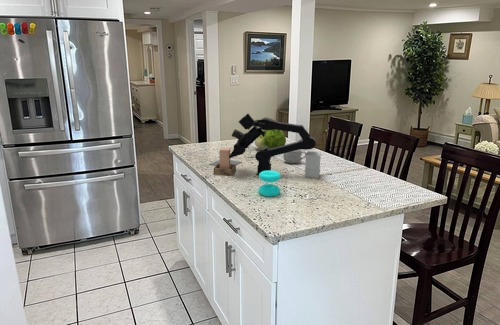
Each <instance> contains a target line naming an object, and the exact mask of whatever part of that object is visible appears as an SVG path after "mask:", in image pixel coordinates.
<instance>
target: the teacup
mask: <svg viewBox="0 0 500 325" xmlns="http://www.w3.org/2000/svg"><path fill="white" fill-rule="evenodd" d="M306 153H307V151H306V150H295V151H291V152H287V153H284V154H282V155H283V161H284V162H286V163H287V164H292V165H293V164H298V163H299V162H301V161H302V160H304V159H306ZM303 154H305V155H304V156H302V155H303Z"/></svg>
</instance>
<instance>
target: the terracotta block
mask: <svg viewBox="0 0 500 325" xmlns="http://www.w3.org/2000/svg"><path fill="white" fill-rule="evenodd" d="M218 154H219V160H220V168H222V169H230V160H231V158H229V156H230V154H231V148H229V147H221V148H220V149H219V152H218Z"/></svg>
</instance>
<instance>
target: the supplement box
mask: <svg viewBox="0 0 500 325" xmlns="http://www.w3.org/2000/svg"><path fill="white" fill-rule="evenodd" d="M321 155H322V153H321V151H313V150H306V157H305V163H304V164H305V166H304V177H305V178H309V179H310V178H311V179H319V178H320V173H321Z"/></svg>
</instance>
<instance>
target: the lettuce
mask: <svg viewBox="0 0 500 325" xmlns="http://www.w3.org/2000/svg"><path fill="white" fill-rule="evenodd" d="M263 131H265V136H264V137H263V136H262V135H260V136H259V137H258V138H257V139H256V140H255V141H254V145H255V147H256V148H258V149H260V148H261V147H262V148H263V147H266V146H268V148H275V147H279V146H283V145H286V144H287V143H286V142H287V137H286V134H285V131H283V130H263Z"/></svg>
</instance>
